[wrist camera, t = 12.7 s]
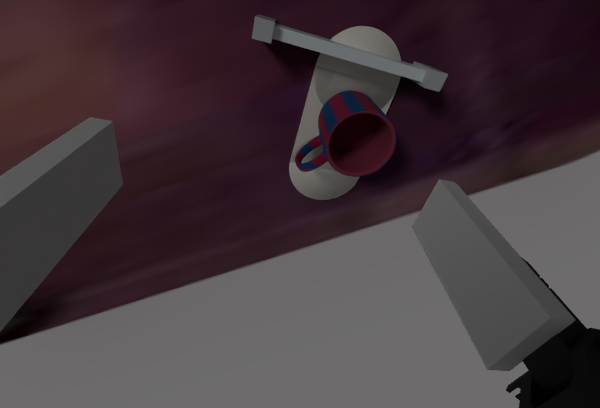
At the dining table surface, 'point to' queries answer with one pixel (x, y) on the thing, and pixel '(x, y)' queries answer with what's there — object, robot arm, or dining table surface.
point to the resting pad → (328, 82)
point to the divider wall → (348, 53)
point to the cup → (351, 136)
